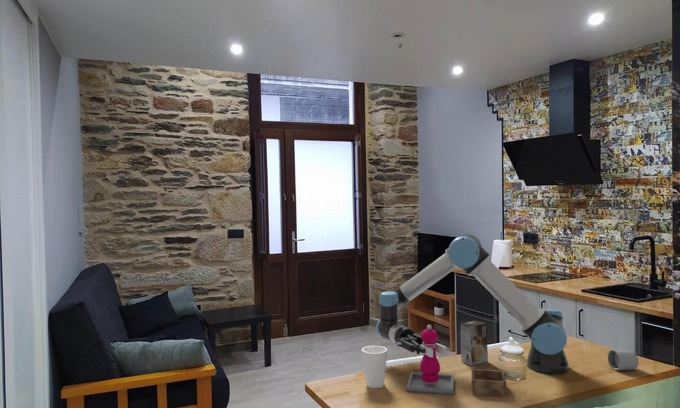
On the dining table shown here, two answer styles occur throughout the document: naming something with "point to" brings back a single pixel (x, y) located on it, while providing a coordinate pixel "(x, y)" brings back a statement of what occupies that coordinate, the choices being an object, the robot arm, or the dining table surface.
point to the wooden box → (488, 382)
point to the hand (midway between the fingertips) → (438, 352)
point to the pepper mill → (430, 364)
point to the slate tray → (431, 384)
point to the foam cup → (374, 365)
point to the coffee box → (474, 342)
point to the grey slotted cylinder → (622, 359)
